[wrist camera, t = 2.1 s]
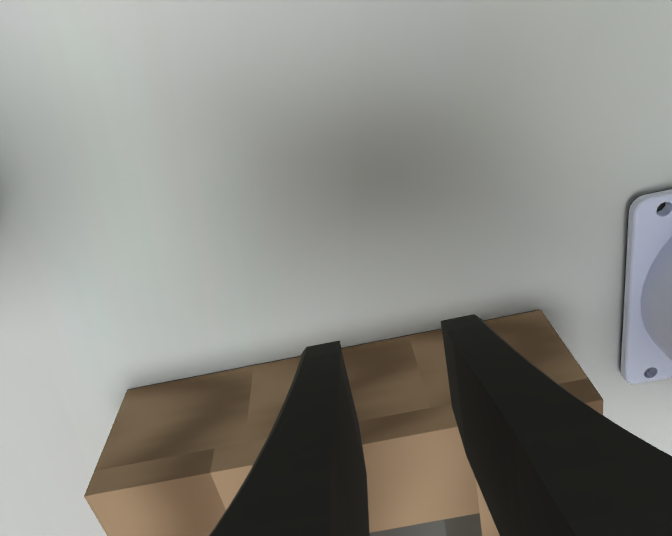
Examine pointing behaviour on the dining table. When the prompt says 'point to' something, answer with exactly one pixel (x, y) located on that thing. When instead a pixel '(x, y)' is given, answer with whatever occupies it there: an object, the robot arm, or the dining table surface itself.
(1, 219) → the dining table surface
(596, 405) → the band block
